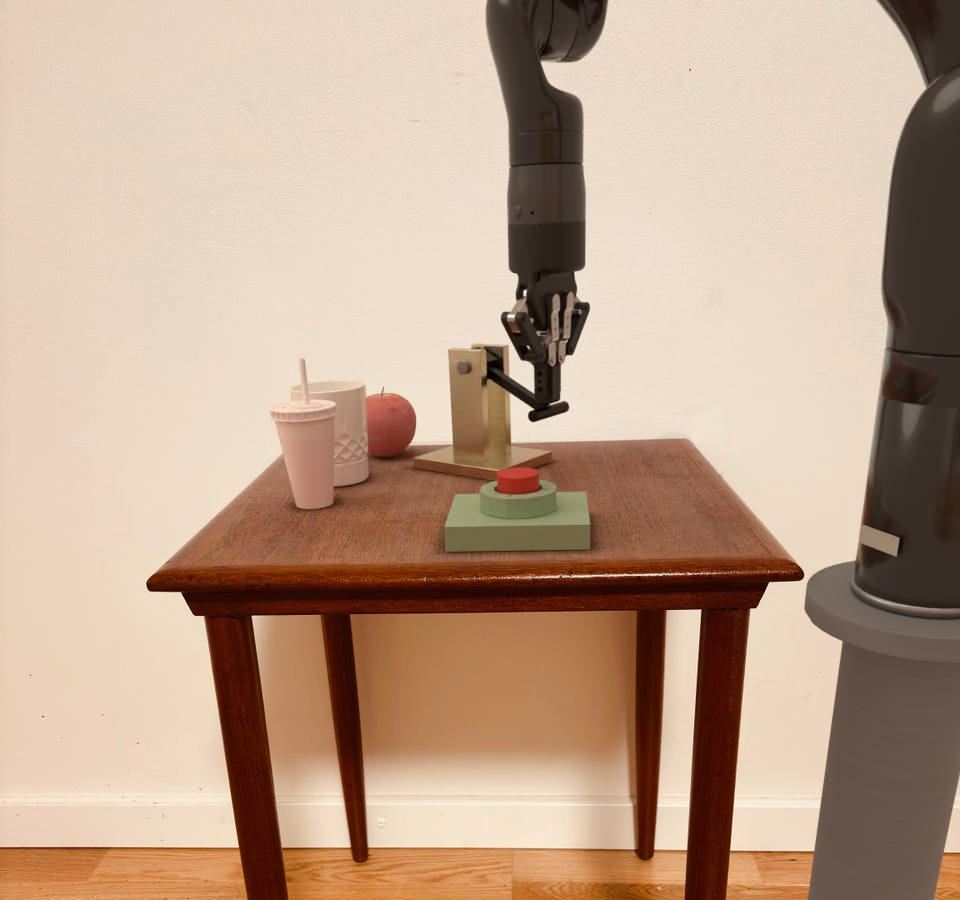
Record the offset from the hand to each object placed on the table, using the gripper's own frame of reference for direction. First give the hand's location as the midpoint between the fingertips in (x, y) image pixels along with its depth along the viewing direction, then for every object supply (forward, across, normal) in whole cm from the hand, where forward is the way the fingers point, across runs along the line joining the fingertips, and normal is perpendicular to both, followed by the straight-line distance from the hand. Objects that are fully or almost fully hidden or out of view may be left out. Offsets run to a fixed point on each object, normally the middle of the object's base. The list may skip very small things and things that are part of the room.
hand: (547, 402), depth 96 cm
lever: (0, 0, +5) cm, 5 cm away
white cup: (+8, -13, +19) cm, 24 cm away
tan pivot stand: (+8, 0, +9) cm, 12 cm away
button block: (+8, -18, -9) cm, 22 cm away
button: (+4, -18, -9) cm, 21 cm away
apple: (+8, -2, +22) cm, 23 cm away
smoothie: (+8, -21, +14) cm, 26 cm away
